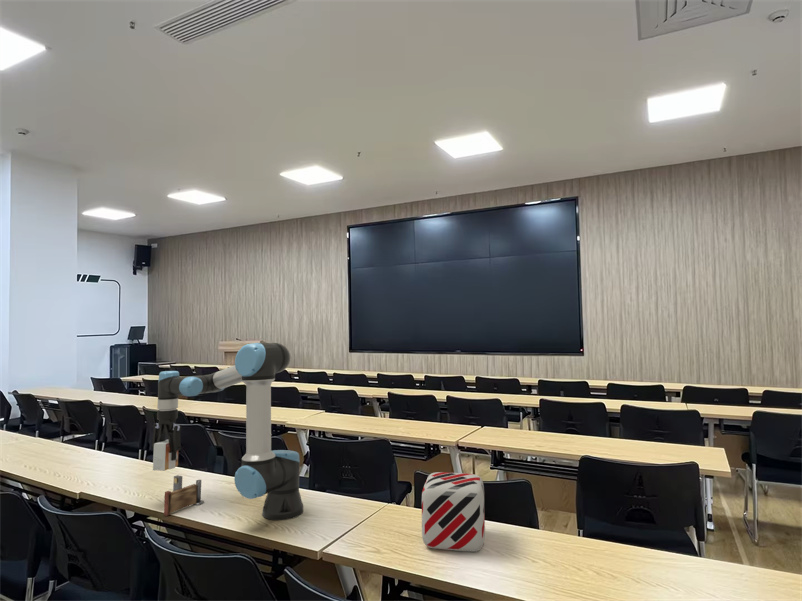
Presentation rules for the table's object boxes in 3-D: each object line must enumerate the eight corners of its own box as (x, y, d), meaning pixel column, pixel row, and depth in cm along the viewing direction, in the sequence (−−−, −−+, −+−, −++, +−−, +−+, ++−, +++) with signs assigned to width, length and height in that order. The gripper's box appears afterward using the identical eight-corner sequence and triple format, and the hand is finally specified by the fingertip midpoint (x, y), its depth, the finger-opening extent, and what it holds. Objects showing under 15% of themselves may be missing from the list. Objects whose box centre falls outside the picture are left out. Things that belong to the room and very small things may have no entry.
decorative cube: (485, 557, 139) (484, 489, 141) (420, 552, 143) (419, 486, 145) (484, 530, 159) (484, 471, 161) (427, 526, 163) (427, 468, 164)
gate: (193, 503, 184) (194, 481, 185) (197, 504, 183) (197, 482, 184) (163, 515, 172) (164, 491, 173) (167, 515, 171) (168, 492, 172)
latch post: (185, 496, 194) (186, 475, 194) (178, 498, 191) (179, 477, 191) (177, 494, 196) (178, 474, 196) (170, 497, 193) (171, 476, 193)
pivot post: (206, 502, 186) (207, 479, 187) (197, 505, 182) (198, 482, 183) (198, 500, 188) (199, 478, 189) (189, 504, 184) (190, 481, 185)
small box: (164, 471, 180) (165, 443, 181) (152, 470, 181) (153, 443, 182) (178, 465, 188) (179, 439, 189) (166, 465, 189) (167, 439, 190)
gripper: (192, 409, 186) (190, 467, 184) (159, 406, 194) (157, 462, 192) (176, 412, 179) (174, 472, 177) (143, 409, 187) (140, 467, 185)
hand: (165, 467), depth 185 cm, fingers closed on small box, 6 cm apart
